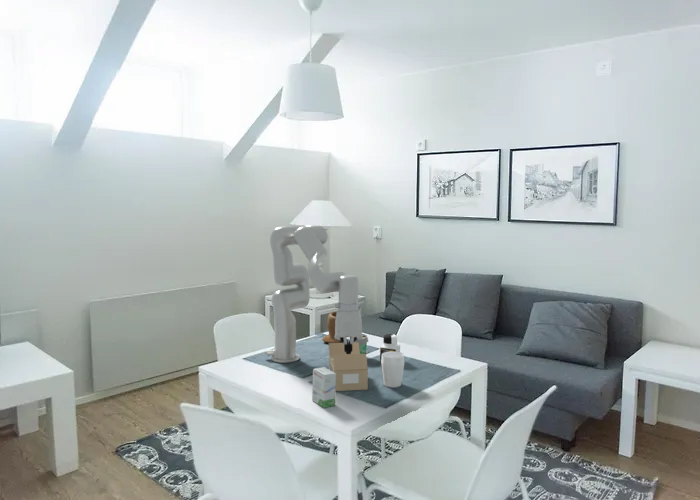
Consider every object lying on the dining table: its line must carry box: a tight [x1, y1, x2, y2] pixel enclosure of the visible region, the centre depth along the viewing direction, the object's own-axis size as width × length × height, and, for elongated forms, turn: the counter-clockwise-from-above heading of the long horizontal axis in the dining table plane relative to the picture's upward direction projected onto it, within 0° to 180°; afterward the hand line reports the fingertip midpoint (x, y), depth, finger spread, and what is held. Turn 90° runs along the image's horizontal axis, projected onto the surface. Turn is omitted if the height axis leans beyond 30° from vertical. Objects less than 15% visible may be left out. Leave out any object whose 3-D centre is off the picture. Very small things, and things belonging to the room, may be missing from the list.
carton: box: [328, 356, 369, 392], centre depth 212 cm, size 13×18×8 cm
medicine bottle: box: [379, 333, 401, 363], centre depth 238 cm, size 7×7×12 cm
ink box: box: [311, 366, 337, 409], centre depth 190 cm, size 9×5×12 cm, turn 33°
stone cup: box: [321, 310, 342, 344], centre depth 271 cm, size 15×12×15 cm
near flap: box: [333, 353, 368, 371], centre depth 203 cm, size 13×6×1 cm
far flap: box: [328, 342, 360, 356], centre depth 223 cm, size 13×6×1 cm
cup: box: [380, 351, 405, 389], centre depth 209 cm, size 9×9×12 cm
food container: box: [355, 333, 369, 355], centre depth 243 cm, size 12×6×10 cm, turn 168°
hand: (348, 353), depth 210 cm, fingers closed
